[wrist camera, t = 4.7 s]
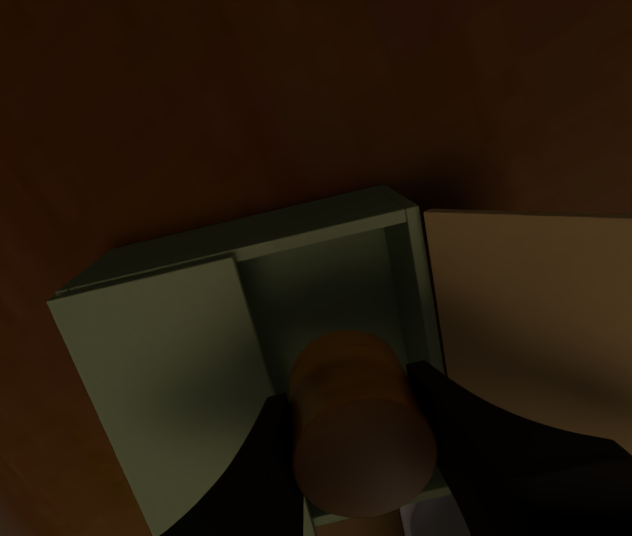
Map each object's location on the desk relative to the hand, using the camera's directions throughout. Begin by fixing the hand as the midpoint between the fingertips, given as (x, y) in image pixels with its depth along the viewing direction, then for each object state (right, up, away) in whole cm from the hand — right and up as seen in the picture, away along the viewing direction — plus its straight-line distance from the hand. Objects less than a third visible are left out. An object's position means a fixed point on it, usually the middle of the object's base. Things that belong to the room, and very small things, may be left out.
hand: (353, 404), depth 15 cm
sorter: (-3, +1, +8) cm, 9 cm away
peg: (0, 0, +1) cm, 1 cm away
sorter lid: (+6, 0, 0) cm, 6 cm away
